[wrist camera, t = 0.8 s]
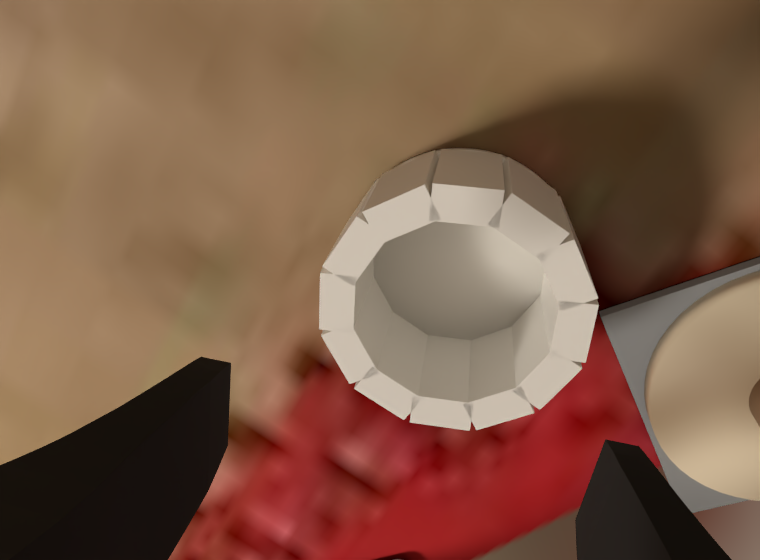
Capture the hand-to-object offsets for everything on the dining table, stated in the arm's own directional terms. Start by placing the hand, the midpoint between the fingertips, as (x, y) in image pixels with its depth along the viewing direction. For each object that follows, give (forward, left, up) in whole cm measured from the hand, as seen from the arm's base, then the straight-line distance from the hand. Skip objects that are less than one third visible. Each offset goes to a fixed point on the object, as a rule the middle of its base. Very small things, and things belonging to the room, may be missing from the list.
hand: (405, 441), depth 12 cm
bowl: (-1, 0, -10) cm, 10 cm away
